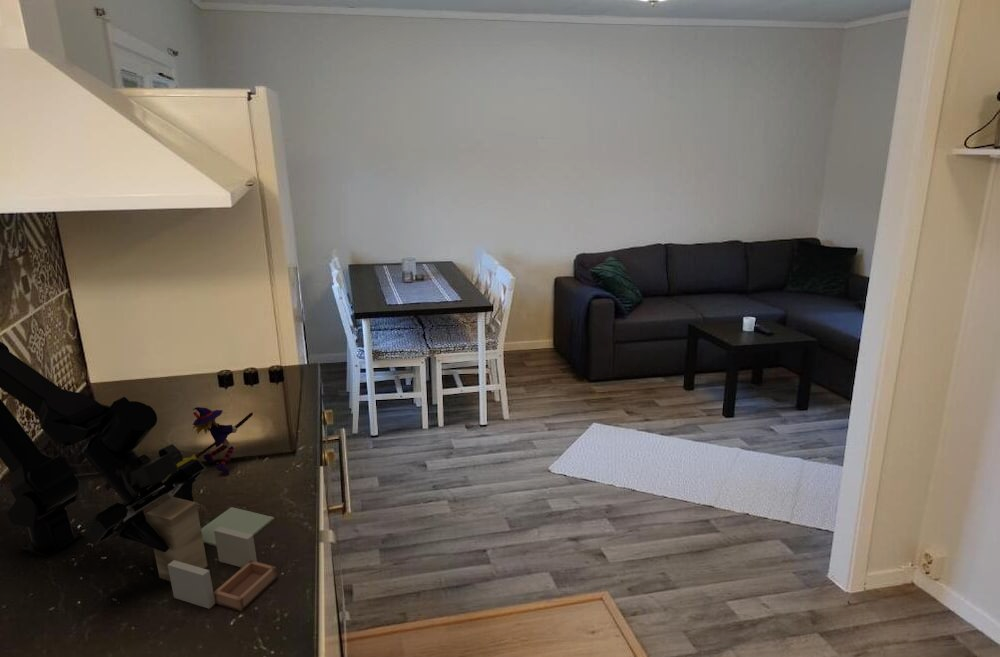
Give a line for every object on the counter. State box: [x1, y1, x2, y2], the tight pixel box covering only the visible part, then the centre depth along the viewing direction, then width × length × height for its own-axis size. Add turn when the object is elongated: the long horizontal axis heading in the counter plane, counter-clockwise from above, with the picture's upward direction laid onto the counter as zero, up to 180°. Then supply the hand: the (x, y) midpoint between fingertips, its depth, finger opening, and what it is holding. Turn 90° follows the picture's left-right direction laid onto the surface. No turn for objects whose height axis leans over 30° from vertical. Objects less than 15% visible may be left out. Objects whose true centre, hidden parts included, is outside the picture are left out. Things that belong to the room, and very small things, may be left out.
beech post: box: [145, 497, 208, 582], centre depth 100 cm, size 5×5×12 cm
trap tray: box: [213, 560, 278, 612], centre depth 97 cm, size 5×8×2 cm, turn 159°
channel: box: [168, 526, 258, 609], centre depth 99 cm, size 7×10×6 cm
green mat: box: [201, 506, 275, 547], centre depth 113 cm, size 10×10×1 cm
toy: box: [176, 406, 254, 475], centre depth 132 cm, size 8×19×15 cm, turn 118°
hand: (183, 538), depth 100 cm, fingers open, 6 cm apart
